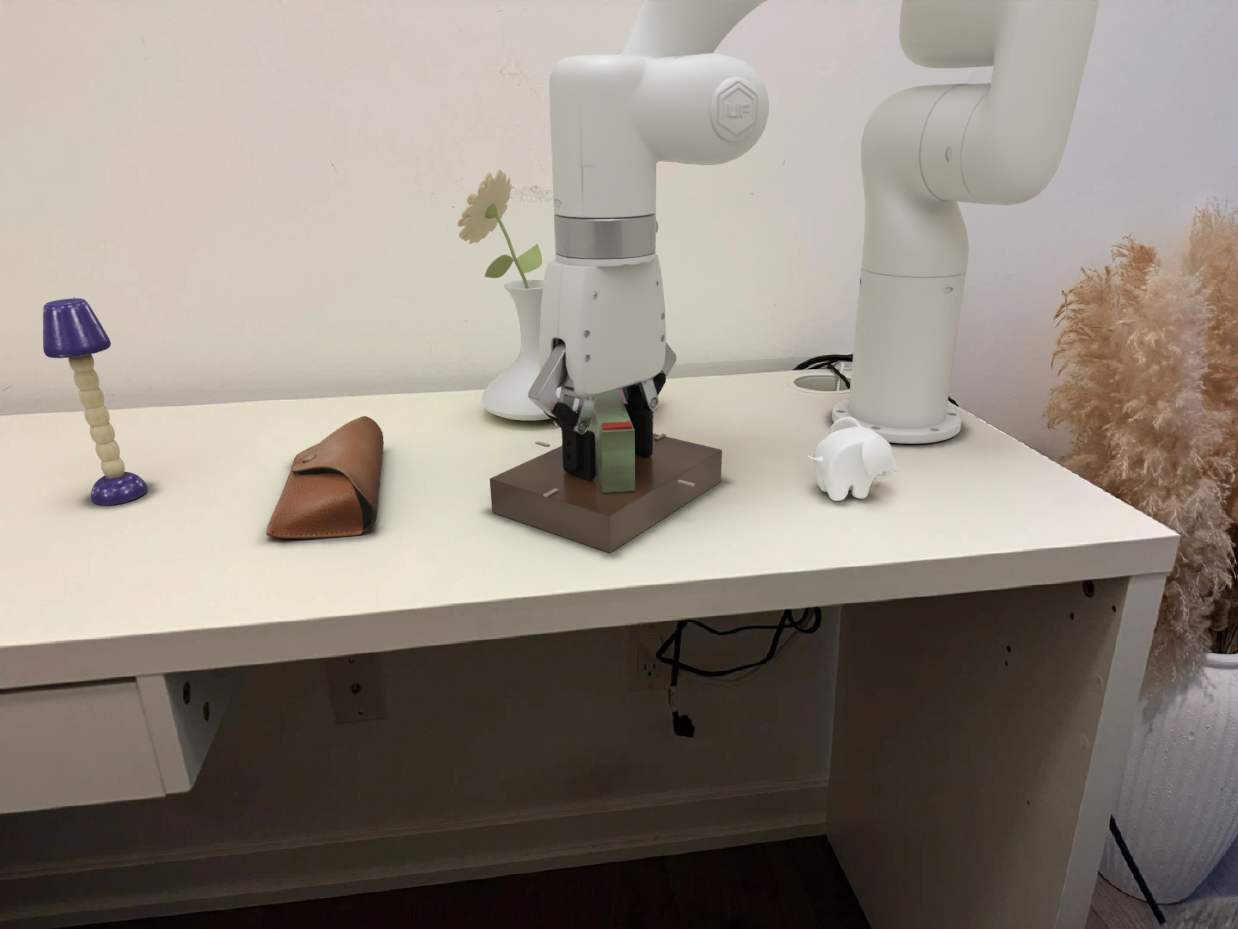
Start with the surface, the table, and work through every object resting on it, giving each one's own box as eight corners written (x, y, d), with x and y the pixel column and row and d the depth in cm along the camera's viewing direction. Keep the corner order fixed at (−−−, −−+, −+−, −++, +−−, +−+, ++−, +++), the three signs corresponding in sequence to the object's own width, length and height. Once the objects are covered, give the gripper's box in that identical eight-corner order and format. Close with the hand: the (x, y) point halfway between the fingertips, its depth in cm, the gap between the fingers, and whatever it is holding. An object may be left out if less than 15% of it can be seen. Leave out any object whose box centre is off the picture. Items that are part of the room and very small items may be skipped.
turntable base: (594, 447, 82) (593, 416, 81) (743, 486, 73) (744, 452, 72) (472, 506, 70) (469, 471, 69) (632, 561, 61) (632, 522, 60)
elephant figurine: (913, 505, 69) (922, 436, 67) (821, 515, 67) (827, 444, 65) (873, 473, 75) (881, 409, 73) (788, 482, 74) (793, 416, 71)
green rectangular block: (588, 438, 76) (586, 381, 74) (616, 436, 76) (615, 380, 74) (602, 493, 64) (601, 428, 62) (635, 491, 65) (634, 426, 63)
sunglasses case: (290, 453, 80) (320, 392, 78) (362, 482, 82) (391, 423, 81) (262, 540, 64) (298, 464, 62) (352, 572, 66) (389, 500, 65)
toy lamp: (76, 508, 70) (19, 308, 64) (96, 486, 75) (45, 296, 68) (139, 502, 71) (89, 304, 65) (155, 481, 76) (110, 293, 69)
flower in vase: (540, 390, 99) (529, 163, 90) (610, 411, 92) (605, 166, 82) (448, 417, 91) (424, 169, 81) (516, 443, 83) (499, 173, 74)
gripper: (646, 225, 71) (646, 427, 78) (481, 247, 60) (497, 481, 67) (717, 232, 66) (710, 447, 73) (551, 257, 55) (561, 509, 62)
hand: (608, 461), depth 70 cm, fingers open, 5 cm apart
